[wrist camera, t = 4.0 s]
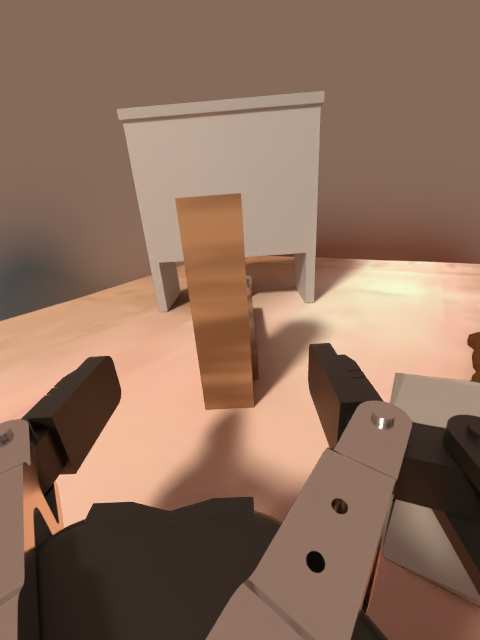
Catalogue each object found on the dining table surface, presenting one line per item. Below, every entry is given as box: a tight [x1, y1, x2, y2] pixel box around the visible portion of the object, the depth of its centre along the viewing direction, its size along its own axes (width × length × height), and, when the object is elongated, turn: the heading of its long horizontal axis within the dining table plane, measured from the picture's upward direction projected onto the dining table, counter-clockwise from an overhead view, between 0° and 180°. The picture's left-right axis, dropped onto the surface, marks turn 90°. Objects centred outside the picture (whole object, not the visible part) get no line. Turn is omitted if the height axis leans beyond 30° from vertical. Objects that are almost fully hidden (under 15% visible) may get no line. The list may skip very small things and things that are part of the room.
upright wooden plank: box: [175, 193, 259, 410], centre depth 26 cm, size 18×4×14 cm, turn 0°
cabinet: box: [117, 91, 324, 312], centre depth 39 cm, size 10×23×24 cm, turn 90°
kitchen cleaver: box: [383, 332, 480, 607], centre depth 19 cm, size 24×1×10 cm
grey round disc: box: [246, 275, 252, 296], centre depth 44 cm, size 5×5×3 cm
